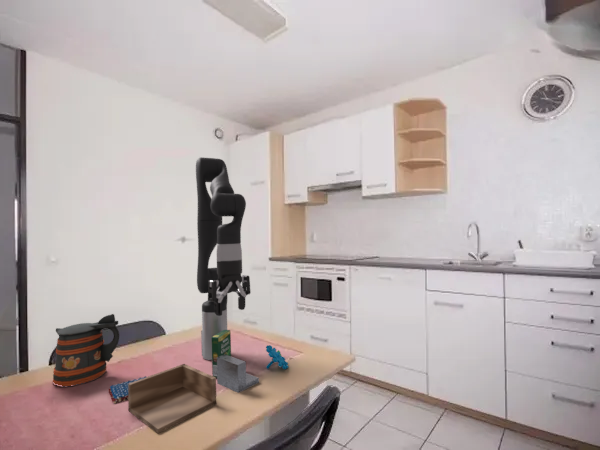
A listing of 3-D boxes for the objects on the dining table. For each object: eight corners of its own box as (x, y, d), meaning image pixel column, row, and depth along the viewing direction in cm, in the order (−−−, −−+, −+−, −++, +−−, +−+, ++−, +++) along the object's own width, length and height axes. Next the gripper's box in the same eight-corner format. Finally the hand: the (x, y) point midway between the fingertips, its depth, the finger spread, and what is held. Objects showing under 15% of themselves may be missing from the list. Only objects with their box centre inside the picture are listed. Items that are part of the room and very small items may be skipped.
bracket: (217, 383, 98) (216, 357, 98) (237, 374, 104) (237, 349, 104) (238, 393, 91) (237, 364, 92) (259, 382, 97) (258, 356, 98)
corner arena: (128, 410, 83) (128, 383, 84) (184, 387, 96) (184, 363, 96) (157, 433, 73) (157, 402, 73) (216, 403, 86) (215, 377, 86)
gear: (287, 369, 102) (266, 346, 104) (274, 383, 102) (253, 360, 104) (291, 361, 113) (272, 340, 115) (280, 373, 113) (260, 352, 114)
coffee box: (219, 378, 101) (218, 337, 101) (211, 378, 102) (210, 336, 102) (232, 368, 108) (231, 329, 109) (224, 367, 109) (224, 329, 110)
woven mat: (107, 392, 95) (107, 385, 95) (146, 381, 102) (146, 375, 102) (112, 406, 87) (112, 398, 87) (153, 393, 93) (153, 386, 93)
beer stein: (125, 363, 116) (124, 308, 116) (115, 380, 102) (114, 317, 103) (63, 371, 110) (63, 313, 111) (44, 391, 96) (43, 324, 97)
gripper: (239, 256, 105) (240, 306, 104) (201, 260, 94) (202, 315, 93) (255, 257, 100) (256, 309, 100) (217, 261, 89) (218, 319, 89)
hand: (230, 312), depth 97 cm, fingers open, 8 cm apart
